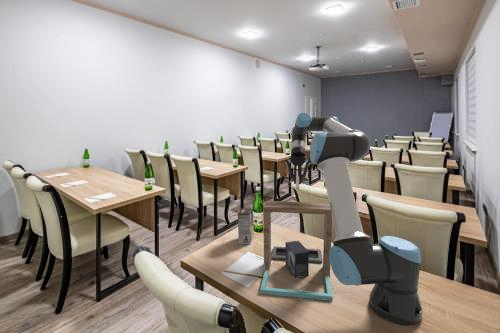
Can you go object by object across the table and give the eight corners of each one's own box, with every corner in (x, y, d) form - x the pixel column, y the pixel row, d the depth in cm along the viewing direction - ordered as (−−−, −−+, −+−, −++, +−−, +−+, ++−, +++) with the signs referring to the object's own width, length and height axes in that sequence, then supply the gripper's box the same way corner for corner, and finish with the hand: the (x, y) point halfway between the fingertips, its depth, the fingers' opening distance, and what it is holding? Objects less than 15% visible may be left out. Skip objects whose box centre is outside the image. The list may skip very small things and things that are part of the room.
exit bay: (332, 300, 92) (332, 296, 91) (260, 293, 96) (260, 289, 96) (328, 278, 104) (328, 275, 104) (265, 273, 109) (265, 269, 108)
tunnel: (329, 278, 105) (332, 209, 100) (264, 272, 109) (263, 206, 105) (327, 267, 112) (330, 203, 108) (266, 262, 117) (265, 200, 112)
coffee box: (242, 236, 144) (241, 207, 141) (254, 237, 143) (253, 208, 140) (238, 243, 135) (237, 213, 132) (250, 244, 134) (250, 214, 131)
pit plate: (322, 263, 116) (322, 260, 115) (271, 259, 120) (271, 256, 119) (320, 251, 125) (320, 249, 125) (273, 248, 129) (273, 246, 129)
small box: (284, 264, 115) (284, 241, 113) (298, 262, 117) (298, 239, 115) (294, 278, 105) (294, 253, 103) (309, 275, 107) (309, 251, 105)
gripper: (310, 155, 143) (310, 193, 130) (286, 154, 146) (284, 192, 133) (311, 146, 137) (311, 185, 124) (285, 146, 140) (283, 184, 126)
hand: (297, 189), depth 128 cm, fingers closed
